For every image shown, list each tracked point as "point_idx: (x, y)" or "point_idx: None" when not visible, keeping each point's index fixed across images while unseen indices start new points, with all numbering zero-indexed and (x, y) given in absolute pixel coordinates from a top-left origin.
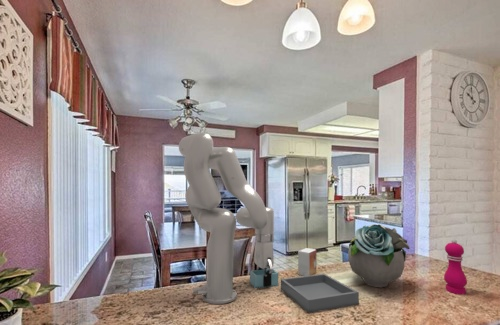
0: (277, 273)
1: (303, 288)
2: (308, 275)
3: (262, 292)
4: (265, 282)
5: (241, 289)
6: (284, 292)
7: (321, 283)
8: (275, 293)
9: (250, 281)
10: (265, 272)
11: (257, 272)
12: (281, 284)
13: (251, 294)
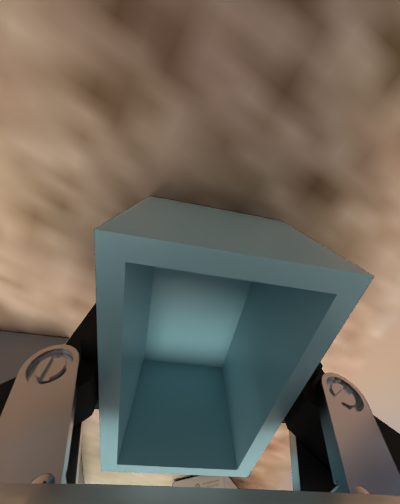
0: (102, 460)
1: None
2: None
3: (52, 209)
4: None
5: (196, 41)
6: (5, 333)
7: None
8: (11, 283)
9: (275, 223)
10: (4, 413)
11: (284, 342)
12: None
13: (24, 75)
